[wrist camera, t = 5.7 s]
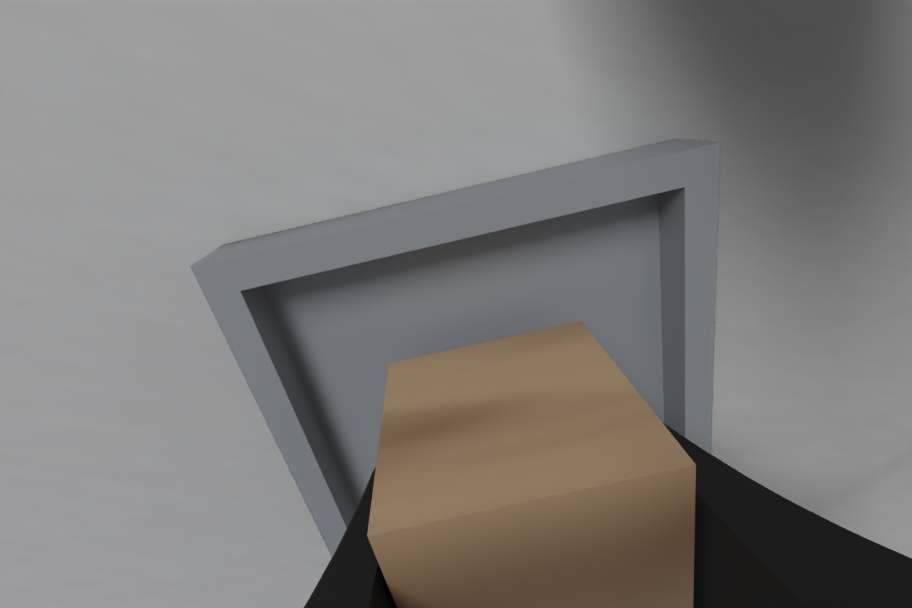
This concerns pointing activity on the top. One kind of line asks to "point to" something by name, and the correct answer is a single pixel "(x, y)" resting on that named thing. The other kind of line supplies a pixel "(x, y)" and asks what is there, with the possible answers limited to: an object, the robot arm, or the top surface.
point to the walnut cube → (529, 481)
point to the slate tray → (473, 299)
